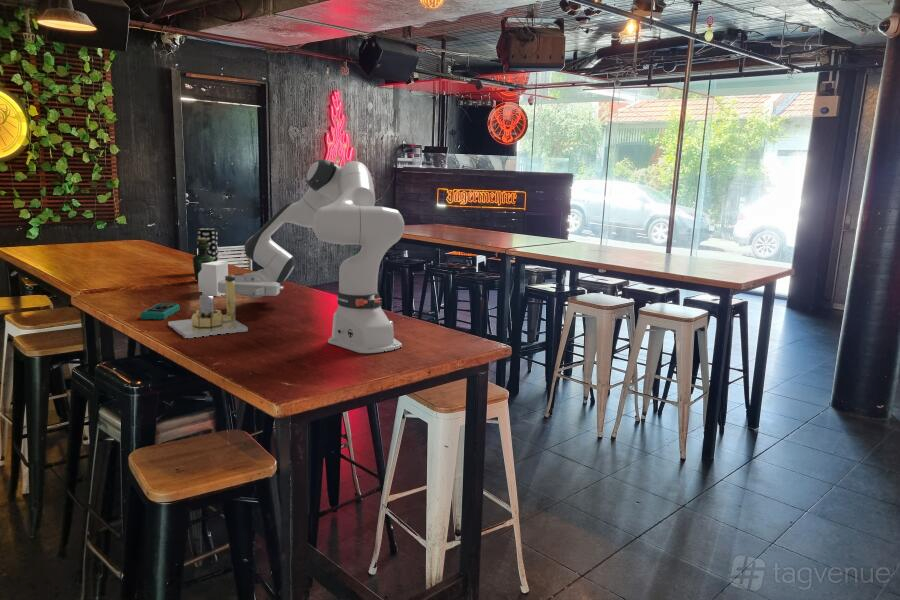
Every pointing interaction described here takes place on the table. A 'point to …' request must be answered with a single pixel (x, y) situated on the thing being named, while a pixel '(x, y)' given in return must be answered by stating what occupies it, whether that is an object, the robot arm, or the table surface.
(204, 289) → the corner bracket
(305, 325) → the table surface
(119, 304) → the table surface
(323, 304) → the table surface
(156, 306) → the digital multimeter
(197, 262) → the potion bottle
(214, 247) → the white-spotted black cylinder
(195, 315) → the brass metal fixture
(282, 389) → the table surface
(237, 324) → the spigot base
